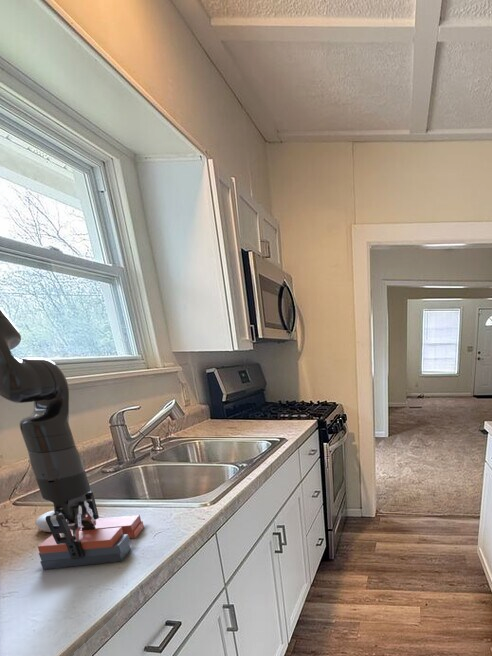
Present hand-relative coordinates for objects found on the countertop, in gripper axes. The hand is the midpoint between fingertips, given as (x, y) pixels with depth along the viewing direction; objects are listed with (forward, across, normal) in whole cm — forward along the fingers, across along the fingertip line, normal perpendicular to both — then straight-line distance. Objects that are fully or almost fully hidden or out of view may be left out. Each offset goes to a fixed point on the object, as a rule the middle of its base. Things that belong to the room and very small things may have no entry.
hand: (86, 550), depth 82 cm
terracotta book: (-1, 0, 0) cm, 1 cm away
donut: (+2, -20, -13) cm, 24 cm away
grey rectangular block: (+2, 0, 0) cm, 2 cm away
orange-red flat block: (+2, -12, 0) cm, 12 cm away
